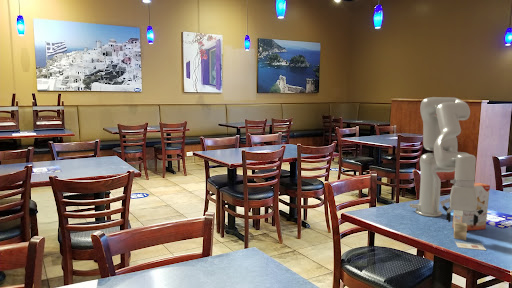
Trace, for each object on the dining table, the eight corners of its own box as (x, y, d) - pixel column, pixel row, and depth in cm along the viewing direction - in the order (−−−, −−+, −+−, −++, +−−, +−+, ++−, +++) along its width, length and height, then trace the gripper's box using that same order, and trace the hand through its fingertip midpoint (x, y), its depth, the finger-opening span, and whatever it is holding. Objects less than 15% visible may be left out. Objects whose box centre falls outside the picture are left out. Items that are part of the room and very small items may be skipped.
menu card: (458, 247, 154) (458, 246, 154) (454, 241, 161) (454, 240, 161) (486, 250, 152) (486, 249, 152) (481, 244, 158) (481, 243, 158)
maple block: (454, 238, 165) (455, 224, 164) (453, 235, 169) (454, 221, 168) (466, 240, 163) (467, 226, 162) (465, 236, 167) (466, 223, 166)
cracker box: (461, 232, 173) (465, 186, 170) (451, 227, 179) (454, 183, 176) (486, 229, 176) (490, 184, 174) (476, 225, 182) (479, 182, 180)
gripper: (441, 183, 163) (439, 222, 164) (489, 186, 156) (486, 228, 157) (441, 180, 170) (438, 218, 171) (486, 183, 163) (483, 223, 164)
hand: (461, 223), depth 164 cm, fingers open, 9 cm apart
